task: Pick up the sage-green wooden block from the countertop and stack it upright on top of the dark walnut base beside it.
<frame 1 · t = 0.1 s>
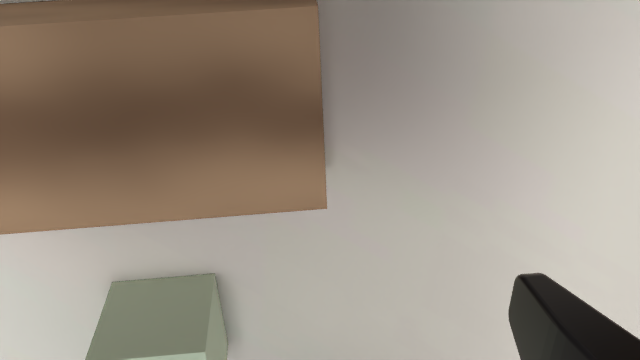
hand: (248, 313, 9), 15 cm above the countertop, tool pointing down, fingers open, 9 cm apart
sage block: (173, 313, 29), on the countertop
walnut base: (118, 99, 22), on the countertop
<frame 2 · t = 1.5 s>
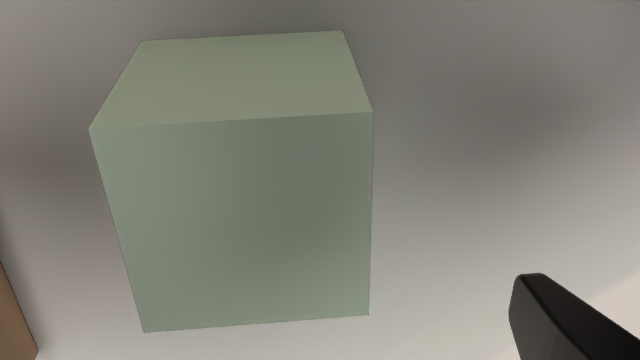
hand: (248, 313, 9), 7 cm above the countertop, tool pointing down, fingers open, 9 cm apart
sage block: (252, 124, 15), on the countertop
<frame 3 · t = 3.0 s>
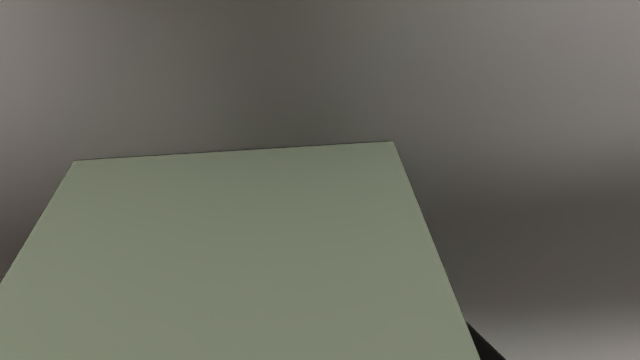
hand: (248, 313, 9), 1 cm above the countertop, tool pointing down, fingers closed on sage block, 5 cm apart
sage block: (250, 271, 10), on the countertop, touching gripper
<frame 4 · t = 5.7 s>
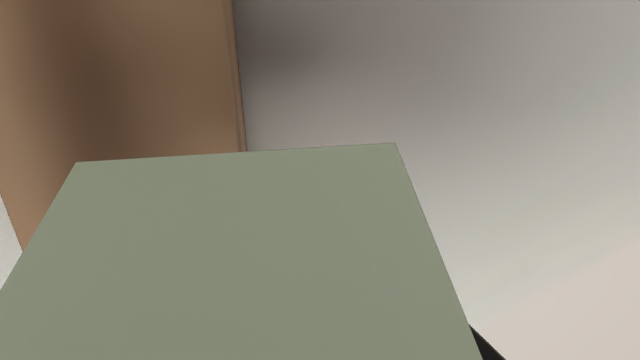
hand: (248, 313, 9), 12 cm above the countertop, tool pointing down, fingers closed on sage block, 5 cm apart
sage block: (252, 273, 10), point 11 cm above the countertop, touching gripper
walnut base: (121, 55, 19), on the countertop
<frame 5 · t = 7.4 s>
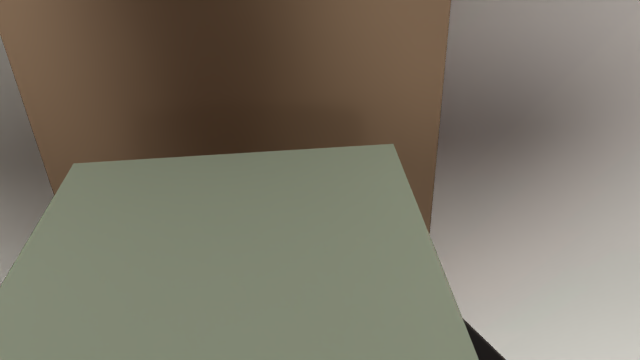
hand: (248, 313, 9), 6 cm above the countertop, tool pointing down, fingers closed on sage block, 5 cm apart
sage block: (250, 274, 10), point 5 cm above the countertop, touching gripper
walnut base: (253, 137, 15), on the countertop
when the fingers open (5 cm above the countertop, at t = 8.4 s): sage block drops 1 cm, resting on walnut base.
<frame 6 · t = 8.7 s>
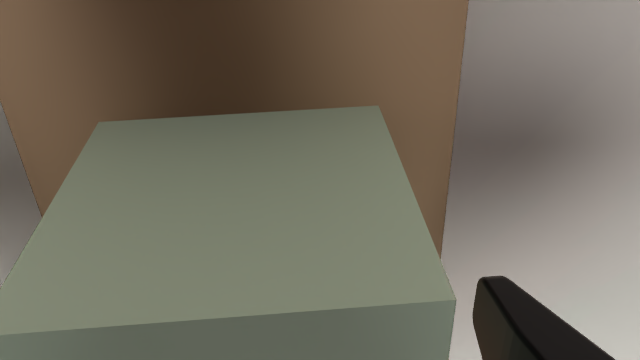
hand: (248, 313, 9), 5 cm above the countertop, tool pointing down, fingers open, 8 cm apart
sage block: (253, 225, 11), point 3 cm above the countertop, touching walnut base
walnut base: (254, 152, 14), on the countertop
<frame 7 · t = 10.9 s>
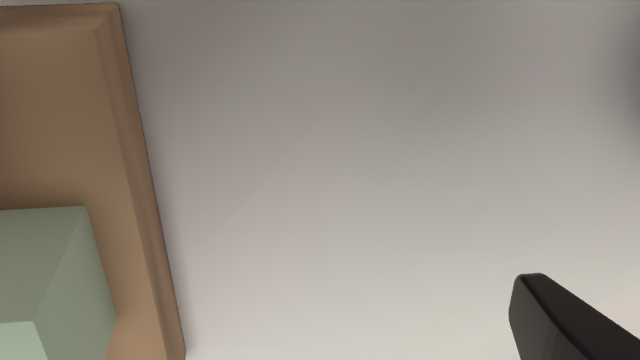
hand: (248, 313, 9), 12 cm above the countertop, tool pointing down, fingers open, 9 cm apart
sage block: (26, 270, 19), point 3 cm above the countertop, touching walnut base
walnut base: (52, 218, 22), on the countertop
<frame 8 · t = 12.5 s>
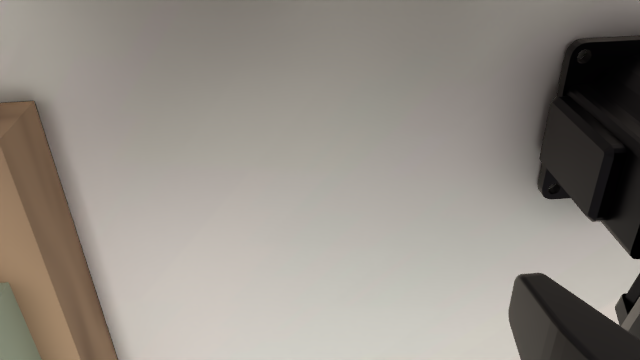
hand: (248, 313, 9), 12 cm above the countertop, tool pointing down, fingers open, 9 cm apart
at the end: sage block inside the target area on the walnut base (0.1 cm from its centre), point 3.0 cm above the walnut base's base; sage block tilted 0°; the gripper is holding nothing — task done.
